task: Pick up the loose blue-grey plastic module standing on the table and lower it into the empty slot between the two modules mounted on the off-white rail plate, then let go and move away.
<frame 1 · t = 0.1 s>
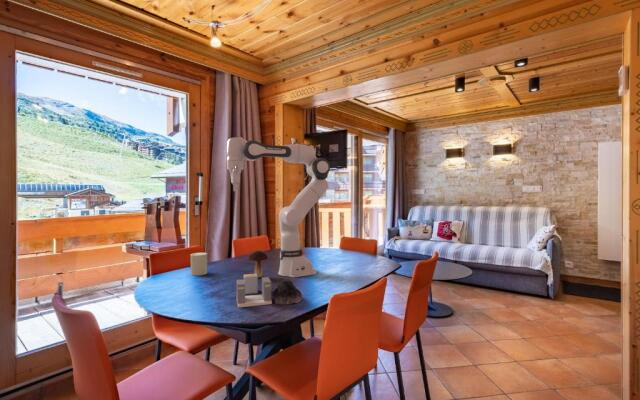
hand: (235, 191, 176), 48 cm above the table, fingers open, 8 cm apart
decorative mushroom: (258, 277, 178), on the table
dark grey rock: (287, 300, 141), on the table
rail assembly: (253, 301, 139), on the table
can: (198, 273, 187), on the table
module: (250, 292, 152), on the table
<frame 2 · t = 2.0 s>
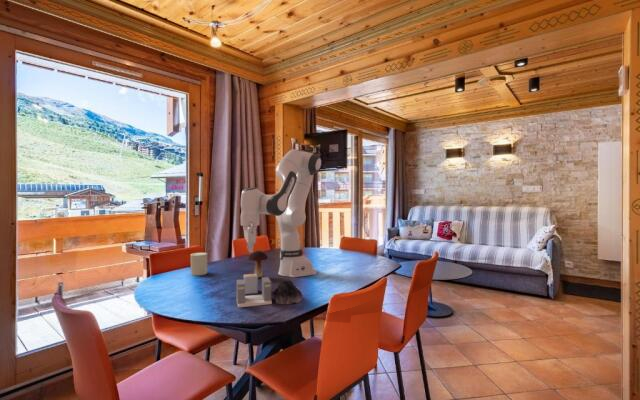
hand: (249, 250, 152), 20 cm above the table, fingers open, 8 cm apart
nothing on the table moved.
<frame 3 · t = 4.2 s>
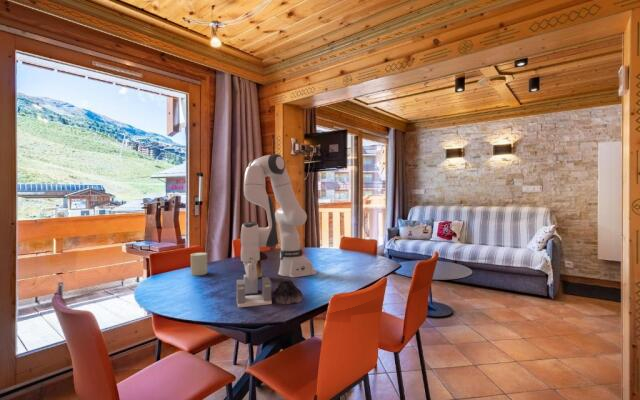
hand: (250, 285, 152), 3 cm above the table, fingers closed on module, 5 cm apart
module: (250, 291, 152), on the table, touching gripper
everything else where it was.
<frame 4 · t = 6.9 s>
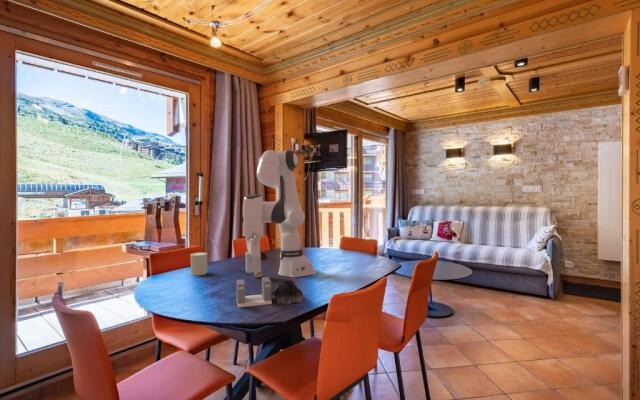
hand: (253, 263, 139), 16 cm above the table, fingers closed on module, 5 cm apart
module: (253, 270, 139), point 13 cm above the table, touching gripper
everything else where it was.
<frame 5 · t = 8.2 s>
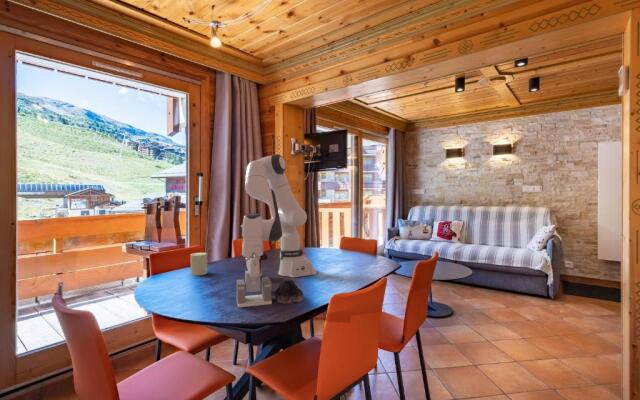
hand: (252, 282, 139), 8 cm above the table, fingers closed on module, 5 cm apart
module: (252, 289, 139), point 5 cm above the table, touching gripper
when the fingers open (6 cm above the table, at t = 9.5 s): module drops 2 cm, resting on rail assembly.
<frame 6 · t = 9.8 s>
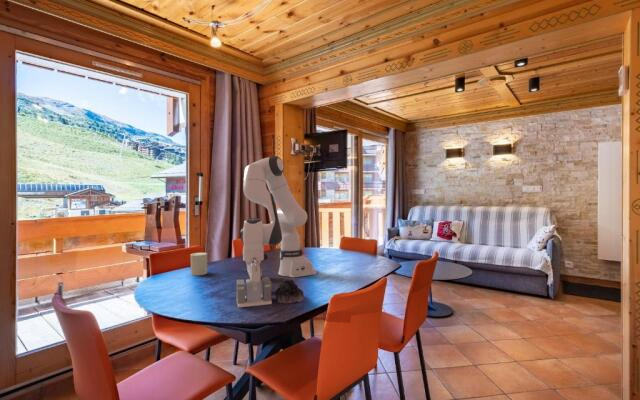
hand: (253, 287, 139), 6 cm above the table, fingers open, 8 cm apart
module: (253, 298, 139), point 1 cm above the table, touching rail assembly
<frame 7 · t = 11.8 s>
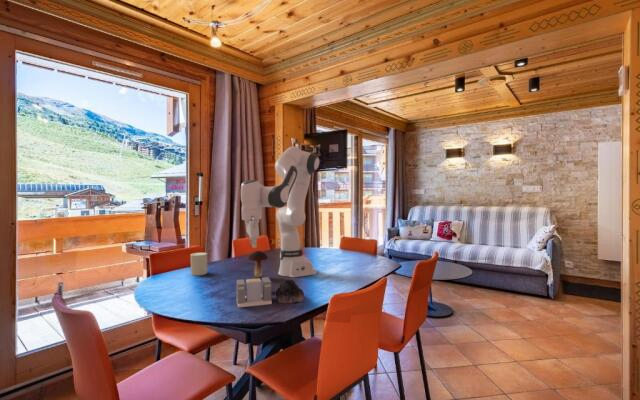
hand: (253, 245, 147), 23 cm above the table, fingers open, 8 cm apart
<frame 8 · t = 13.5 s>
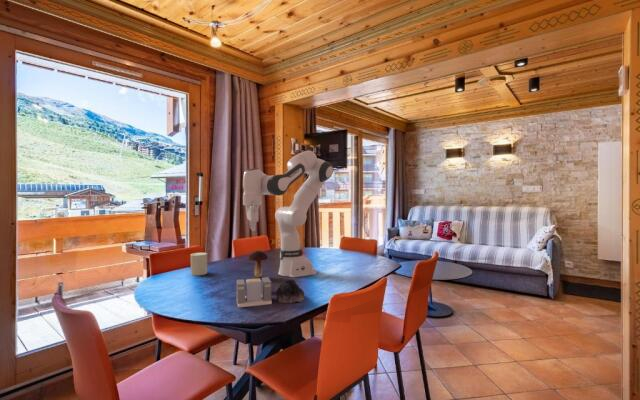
hand: (252, 229, 156), 29 cm above the table, fingers open, 8 cm apart
at the end: module 0.1 cm off-centre on the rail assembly, point 1.2 cm above the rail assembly's base; module tilted 0°; the gripper is holding nothing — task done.
